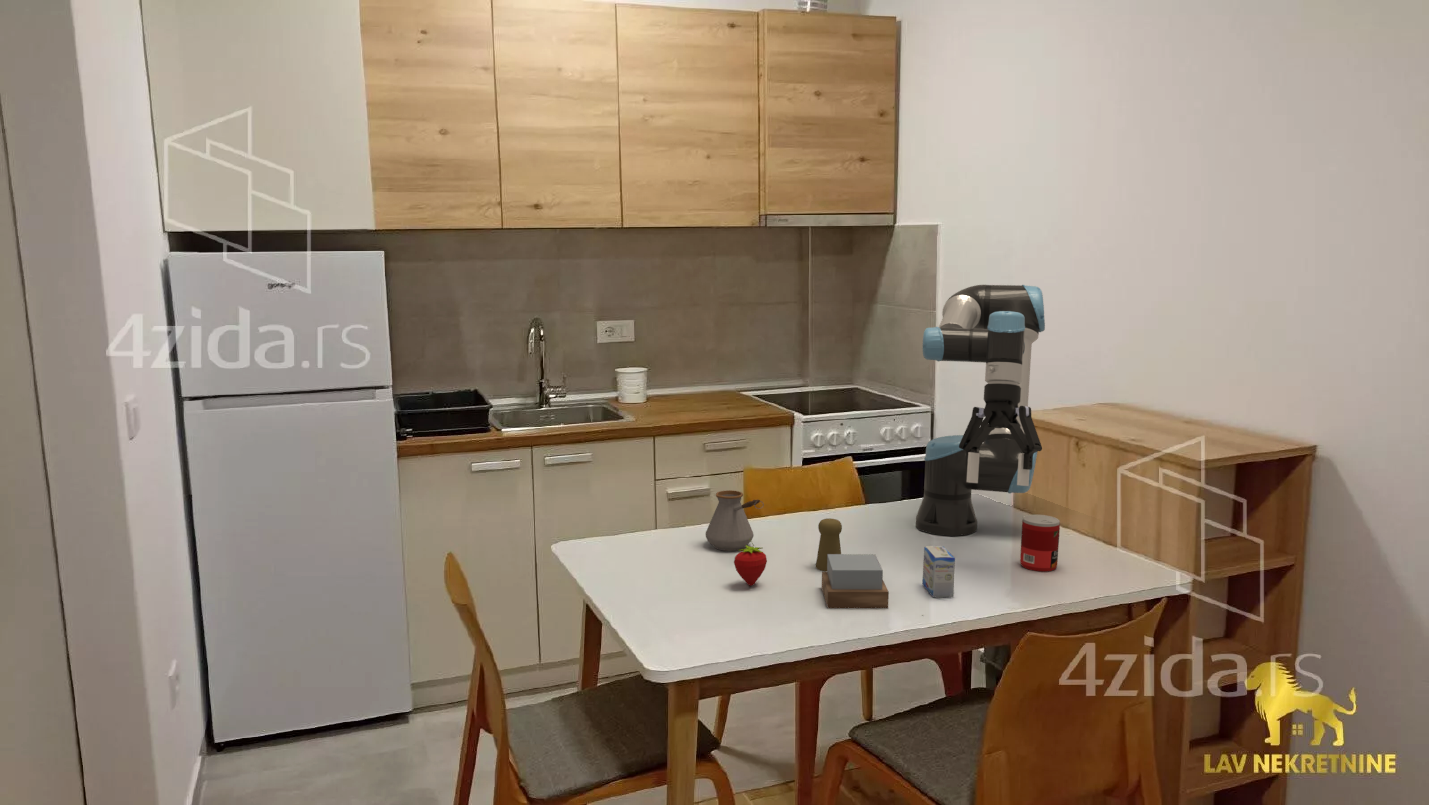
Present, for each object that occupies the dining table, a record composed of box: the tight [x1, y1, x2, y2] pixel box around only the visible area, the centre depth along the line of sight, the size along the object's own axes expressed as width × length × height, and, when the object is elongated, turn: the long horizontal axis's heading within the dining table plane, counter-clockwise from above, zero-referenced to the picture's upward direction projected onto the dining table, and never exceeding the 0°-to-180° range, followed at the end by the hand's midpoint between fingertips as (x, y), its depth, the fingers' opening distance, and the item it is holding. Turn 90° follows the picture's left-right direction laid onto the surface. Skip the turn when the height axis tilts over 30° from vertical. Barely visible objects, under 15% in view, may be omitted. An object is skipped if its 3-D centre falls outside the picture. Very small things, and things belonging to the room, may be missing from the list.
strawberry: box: [733, 540, 768, 587], centre depth 215 cm, size 6×8×10 cm
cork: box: [815, 518, 843, 572], centre depth 227 cm, size 6×6×11 cm
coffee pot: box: [705, 490, 765, 552], centre depth 237 cm, size 21×12×15 cm, turn 25°
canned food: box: [1019, 514, 1061, 573], centre depth 228 cm, size 8×8×11 cm
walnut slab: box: [821, 571, 890, 609], centre depth 209 cm, size 12×12×4 cm
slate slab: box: [827, 553, 884, 589], centre depth 208 cm, size 10×10×4 cm
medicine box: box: [921, 545, 956, 598], centre depth 212 cm, size 8×4×9 cm, turn 5°
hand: (996, 484), depth 215 cm, fingers open, 13 cm apart
